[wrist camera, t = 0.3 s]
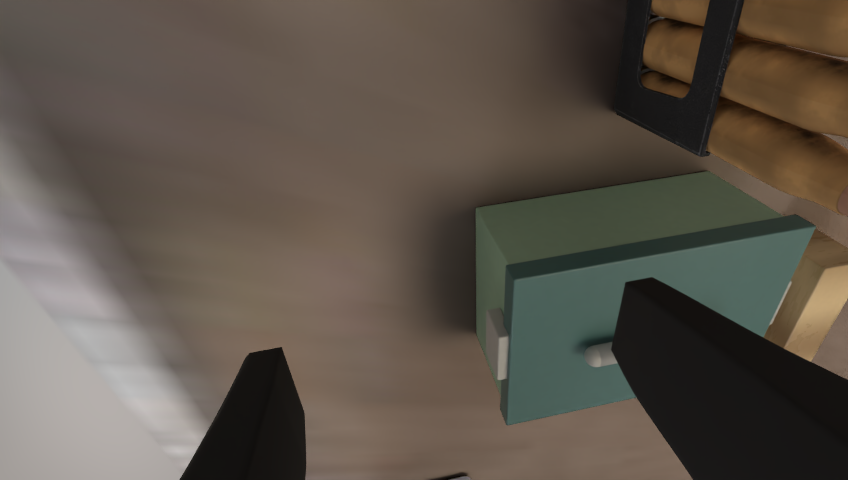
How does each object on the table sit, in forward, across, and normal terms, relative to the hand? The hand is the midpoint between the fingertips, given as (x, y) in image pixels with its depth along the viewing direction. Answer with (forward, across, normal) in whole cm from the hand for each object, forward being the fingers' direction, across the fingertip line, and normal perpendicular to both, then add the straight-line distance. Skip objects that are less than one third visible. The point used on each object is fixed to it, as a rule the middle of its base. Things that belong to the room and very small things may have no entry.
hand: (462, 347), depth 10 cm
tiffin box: (+10, -9, +6) cm, 15 cm away
